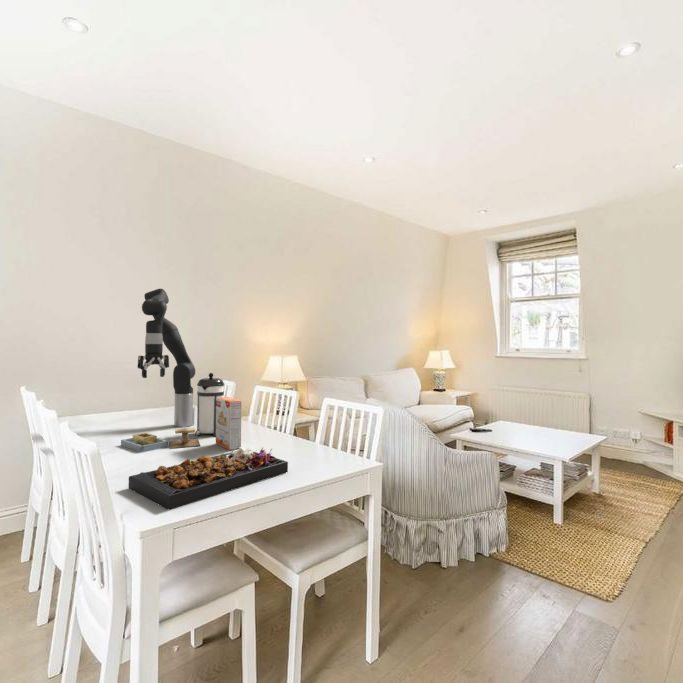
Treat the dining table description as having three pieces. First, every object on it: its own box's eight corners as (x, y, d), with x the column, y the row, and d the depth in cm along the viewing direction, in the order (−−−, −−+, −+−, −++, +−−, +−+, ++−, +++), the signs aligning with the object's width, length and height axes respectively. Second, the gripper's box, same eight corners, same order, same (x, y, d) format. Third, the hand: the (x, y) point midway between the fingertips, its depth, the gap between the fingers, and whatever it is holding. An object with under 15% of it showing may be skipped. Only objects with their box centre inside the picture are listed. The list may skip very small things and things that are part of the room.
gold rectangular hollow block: (132, 444, 184) (132, 435, 184) (145, 441, 189) (146, 432, 189) (145, 448, 178) (145, 438, 178) (158, 445, 183) (158, 436, 183)
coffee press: (232, 435, 207) (233, 373, 207) (199, 439, 198) (200, 374, 198) (220, 428, 222) (221, 370, 221) (189, 431, 213) (190, 371, 212)
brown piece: (197, 439, 196) (198, 425, 196) (200, 446, 185) (200, 431, 185) (169, 442, 192) (170, 427, 192) (170, 448, 181) (170, 433, 181)
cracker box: (214, 444, 190) (215, 397, 190) (227, 442, 194) (228, 396, 193) (228, 450, 179) (228, 401, 179) (241, 448, 183) (242, 400, 183)
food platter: (244, 460, 168) (245, 434, 168) (287, 473, 153) (288, 445, 153) (128, 490, 134) (128, 457, 134) (168, 512, 118) (168, 475, 118)
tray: (120, 445, 184) (120, 439, 184) (147, 440, 194) (147, 435, 194) (141, 452, 174) (141, 446, 174) (168, 446, 184) (168, 441, 184)
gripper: (143, 343, 192) (143, 379, 192) (172, 343, 204) (171, 377, 204) (135, 342, 197) (134, 377, 197) (163, 342, 208) (163, 375, 208)
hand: (153, 377), depth 200 cm, fingers open, 8 cm apart
